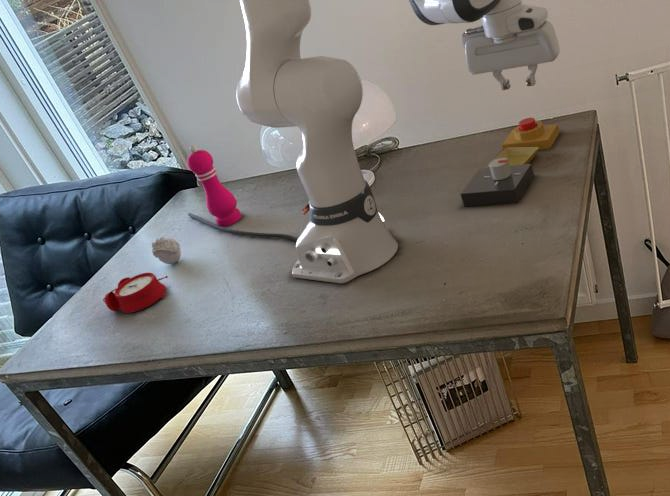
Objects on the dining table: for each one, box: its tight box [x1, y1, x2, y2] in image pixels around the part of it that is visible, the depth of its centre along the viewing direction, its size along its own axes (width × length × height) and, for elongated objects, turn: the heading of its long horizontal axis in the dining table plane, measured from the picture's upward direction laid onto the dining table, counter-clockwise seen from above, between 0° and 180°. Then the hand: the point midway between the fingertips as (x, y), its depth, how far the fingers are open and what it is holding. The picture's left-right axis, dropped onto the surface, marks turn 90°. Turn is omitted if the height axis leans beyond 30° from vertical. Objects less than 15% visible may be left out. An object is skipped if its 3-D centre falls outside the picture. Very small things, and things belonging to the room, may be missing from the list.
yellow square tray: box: [487, 147, 539, 168], centre depth 163 cm, size 9×9×2 cm
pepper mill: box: [186, 144, 243, 228], centre depth 180 cm, size 7×7×20 cm
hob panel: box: [460, 163, 535, 208], centre depth 154 cm, size 12×11×3 cm
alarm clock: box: [102, 272, 168, 314], centre depth 162 cm, size 10×6×15 cm
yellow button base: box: [501, 119, 560, 151], centre depth 169 cm, size 11×8×4 cm
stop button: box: [518, 117, 536, 131], centre depth 167 cm, size 4×4×2 cm
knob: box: [488, 158, 511, 180], centre depth 152 cm, size 4×4×3 cm
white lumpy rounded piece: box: [151, 236, 182, 265], centre depth 173 cm, size 6×7×7 cm
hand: (519, 87), depth 162 cm, fingers open, 4 cm apart
